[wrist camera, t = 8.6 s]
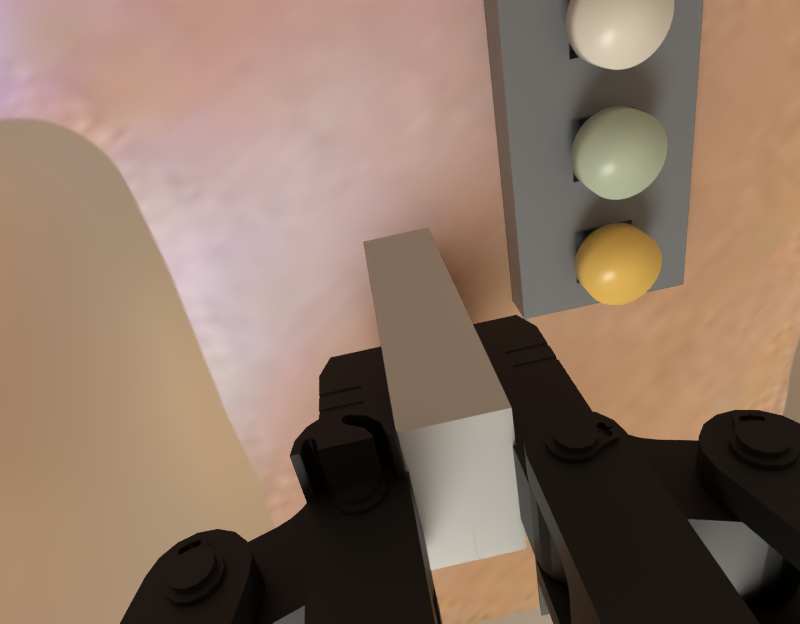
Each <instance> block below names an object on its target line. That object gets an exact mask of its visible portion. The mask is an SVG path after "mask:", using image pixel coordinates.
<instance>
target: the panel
mask: <svg viewBox="0 0 800 624" xmlns="http://www.w3.org/2000/svg"><path fill="white" fill-rule="evenodd" d="M569 2H570V0H484V7H485V18H486V28H487V39H488V49H489V60H490V70H491V80H492V91H493V101H494V112H495V122H496V132H497V143H498V153H499V164H500V174H501V185H502V195H503V205H504V216H505V226H506V237H507V247H508V257H509V268H510V278H511V289H512V299H513V302H514V303H515V305H516V307H517V308H518V310H519V311H520V313H521V314H522V316H523V318H524V319H527V318H532V317H536V316H541V315H546V314H550V313H555V312H559V311H564V310H568V309H573V308H577V307H582V306H587V305H591V304H596V303H600V302H599V301H597V300H596V299H594V298H593V297H592V296H591V295H590V294H589V293H588V291H587V290H586V289H585V288H584V287H583V286H582V285H581V284H580V283H579V281H578V279H577V277H576V274H575V269H574V262H575V257H576V254H577V251H578V249H579V247H580V244H581V242H582V240H583V238H584V237H585V236H586V235H587V234H588V233H590V232H592V231H594V230H597V229H599V228H601V227H603V226H605V225H608V224H612V223H627V224H631V225H633V226H635V227H637V228H638V229H640V230H641V231H642V232H644V233H645V234H647V235H648V236H649V237H651V238H652V239H653V240H654V241H655V242H656V243H657V244H658V246H659V248H660V251H661V255H662V266H661V270H660V273H659V275H658V277H657V279H656V281H655V282H654V284H653V285H652V286H651V288H650V289H649V290H648V291H647V292H650V291H655V290H659V289H664V288H669V287H673V286H678V285H682V284H683V282H684V268H685V254H686V240H687V226H688V211H689V197H690V183H691V169H692V154H693V140H694V126H695V112H696V98H697V83H698V69H699V55H700V41H701V26H702V12H703V0H674V14H673V19H672V22H671V26H670V28H669V31H668V33H667V35H666V37H665V39H664V40H663V42H662V43H661V45H660V46H659V47H658V49H657V50H656V51H655V52H654V53H653V54H652V55H651V56H650V57H649V58H647V59H646V60H645V61H643V62H641V63H640V64H638V65H636V66H633V67H631V68H627V69H621V70H613V69H607V68H603V67H599V66H595V65H592V64H589V63H587V62H585V61H584V60H582V59H581V58H580V57H579V56H578V55H577V54H576V53H575V52H574V50H573V49H572V47H571V45H570V43H569V40H568V36H567V31H566V15H567V10H568V6H569ZM612 106H627V107H631V108H634V109H637V110H640V111H642V112H645V113H648V114H650V115H652V116H653V117H655V118H656V119H657V120H658V121H659V122H660V123H661V125H662V126H663V128H664V130H665V133H666V136H667V147H668V148H667V155H666V159H665V162H664V165H663V167H662V169H661V171H660V173H659V174H658V176H657V177H656V178H655V180H654V181H653V182H652V183H651V184H650V185H649V186H648V187H647V188H645V189H644V190H643V191H641V192H640V193H638V194H636V195H634V196H631V197H629V198H625V199H619V200H612V199H606V198H603V197H601V196H599V195H597V194H596V193H594V192H593V191H591V190H590V189H588V188H587V187H586V186H584V185H583V184H582V183H581V182H580V181H579V180H578V179H577V178H576V176H575V174H574V172H573V170H572V166H571V148H572V144H573V141H574V139H575V136H576V134H577V132H578V131H579V129H580V128H581V126H582V125H583V124H584V123H585V122H586V121H587V120H588V119H589V118H590V117H591V116H593V115H594V114H595V113H597V112H599V111H600V110H603V109H605V108H608V107H612Z"/></svg>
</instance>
